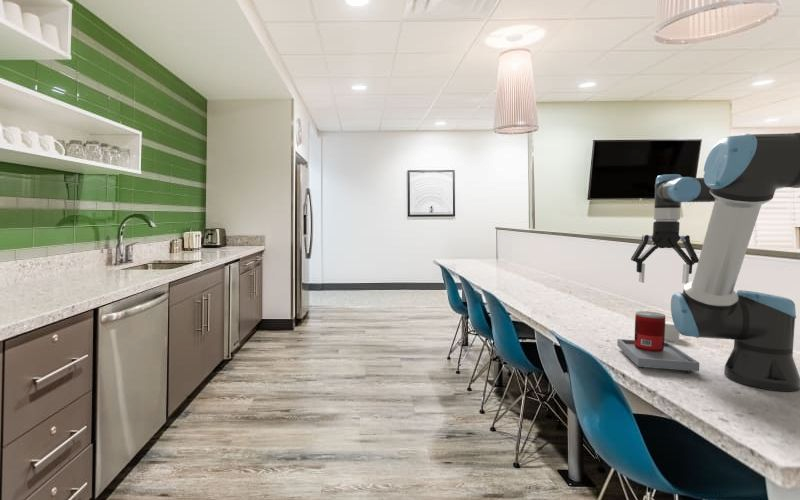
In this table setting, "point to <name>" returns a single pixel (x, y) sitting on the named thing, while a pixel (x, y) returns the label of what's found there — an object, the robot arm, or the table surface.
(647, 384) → the table surface
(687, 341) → the table surface
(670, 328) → the light grey cube
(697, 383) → the table surface
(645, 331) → the canned food
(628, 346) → the grey tray
